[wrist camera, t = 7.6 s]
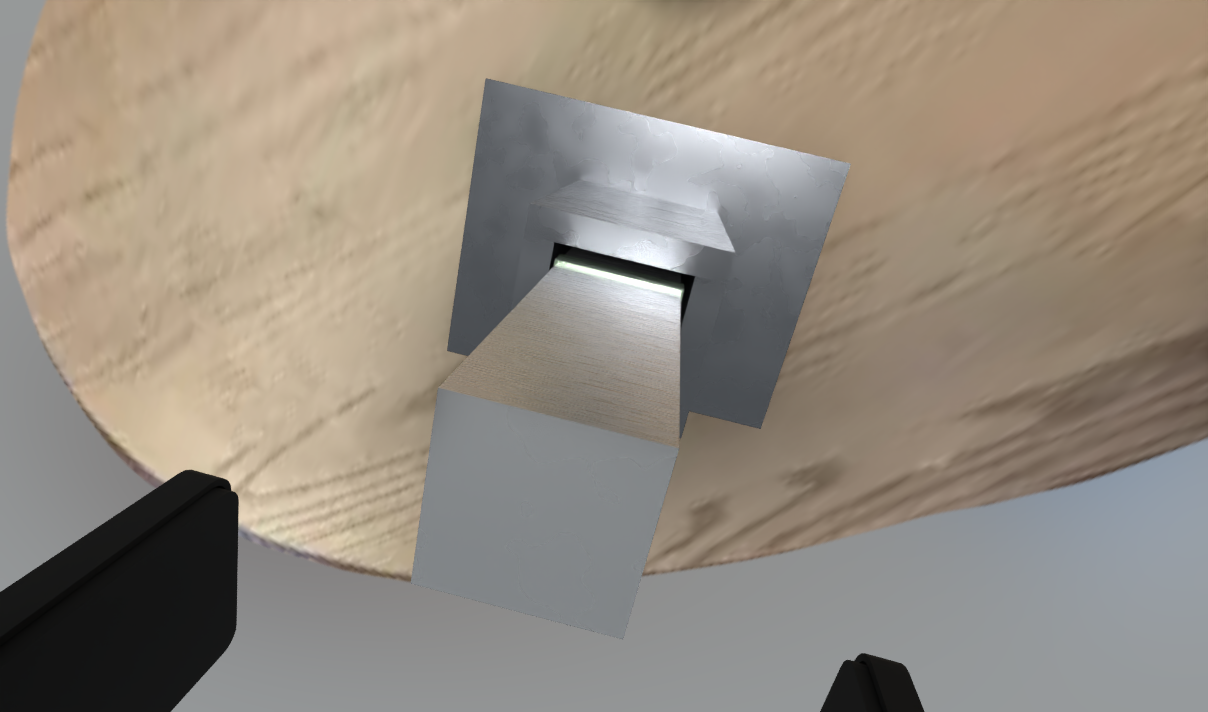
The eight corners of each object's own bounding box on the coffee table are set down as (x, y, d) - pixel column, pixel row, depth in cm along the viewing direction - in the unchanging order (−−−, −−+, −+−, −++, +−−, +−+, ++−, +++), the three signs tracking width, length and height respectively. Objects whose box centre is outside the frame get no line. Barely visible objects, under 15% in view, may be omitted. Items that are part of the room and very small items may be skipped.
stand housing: (844, 162, 35) (940, 180, 22) (757, 418, 41) (793, 554, 28) (493, 80, 36) (384, 50, 23) (455, 343, 42) (350, 441, 28)
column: (683, 254, 30) (686, 445, 12) (658, 348, 32) (626, 644, 13) (584, 230, 30) (433, 381, 12) (564, 325, 32) (405, 586, 14)
